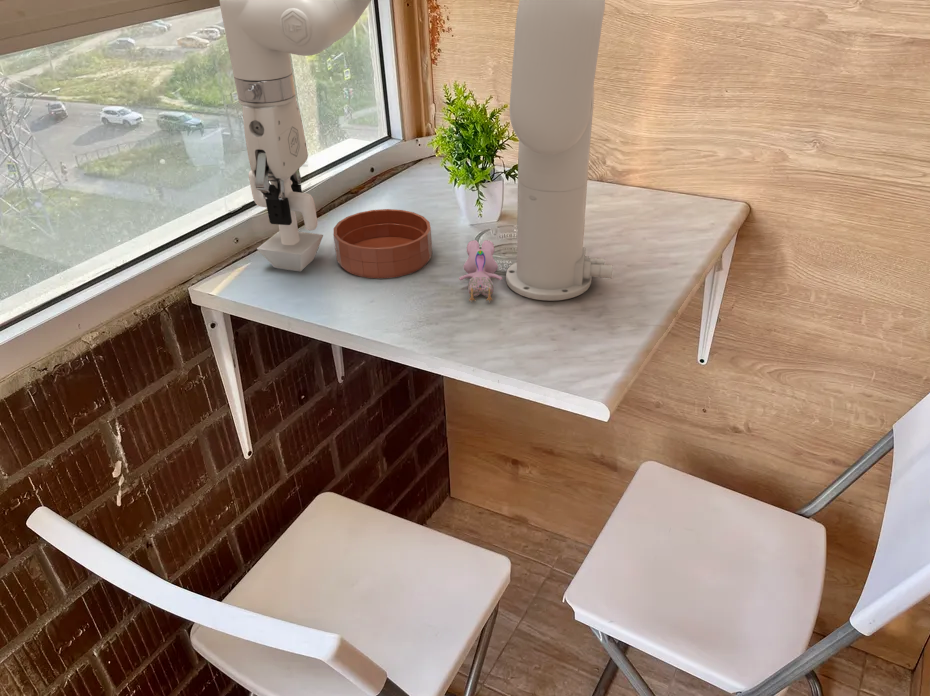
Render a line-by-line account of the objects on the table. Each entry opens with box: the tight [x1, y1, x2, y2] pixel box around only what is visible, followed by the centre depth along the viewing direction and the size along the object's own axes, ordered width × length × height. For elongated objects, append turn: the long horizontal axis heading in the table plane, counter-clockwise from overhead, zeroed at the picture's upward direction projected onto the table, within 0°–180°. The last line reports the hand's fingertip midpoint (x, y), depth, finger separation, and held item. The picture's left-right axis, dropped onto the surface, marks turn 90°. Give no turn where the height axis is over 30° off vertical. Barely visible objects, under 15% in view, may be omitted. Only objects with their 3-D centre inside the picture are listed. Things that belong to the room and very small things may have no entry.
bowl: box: [332, 208, 433, 279], centre depth 118 cm, size 15×15×5 cm
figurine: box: [248, 169, 324, 273], centre depth 114 cm, size 7×9×15 cm
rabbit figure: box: [458, 239, 503, 303], centre depth 112 cm, size 6×6×15 cm
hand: (287, 215), depth 113 cm, fingers open, 4 cm apart
